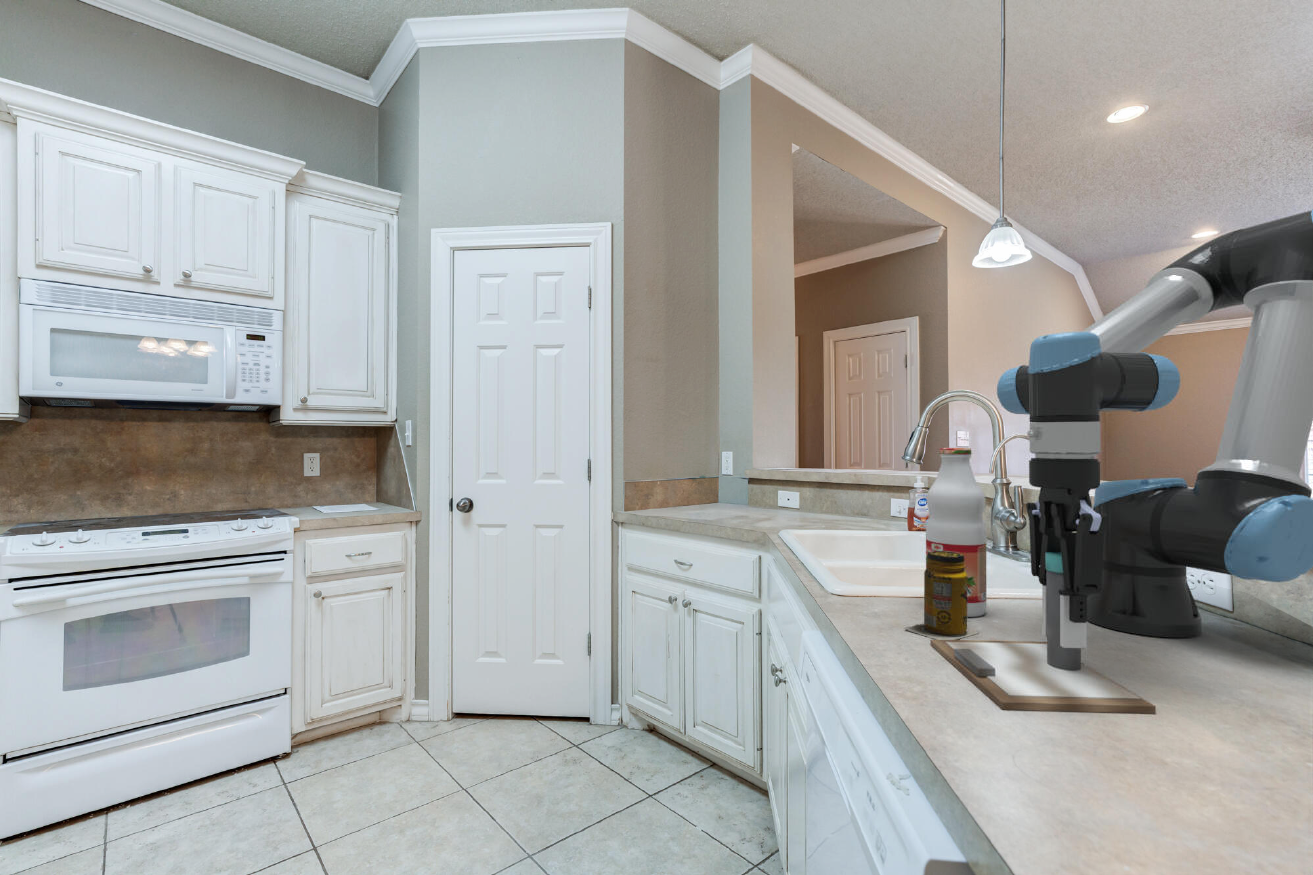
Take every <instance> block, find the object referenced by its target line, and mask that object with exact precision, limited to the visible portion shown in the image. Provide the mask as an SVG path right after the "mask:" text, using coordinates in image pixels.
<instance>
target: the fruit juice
mask: <svg viewBox="0 0 1313 875" xmlns="http://www.w3.org/2000/svg"><path fill="white" fill-rule="evenodd" d="M939 457H940V458H941V462H940V463H941V464H940V468H939V470H938V473H937V476H936V478H935V480H934V482H933V483H932V485H931V487H929V489H928V492H927V493H926V506H927V508H928V512H929V518H928V520H927V522H926V527H925V569H926V568H927V565H926V564H927V561H928V559H927V555H928V552H932V551H948V552H955V553H959V554H962V555H964V558H965V560H964V564H965V569H964V571H965V572H966V574H967V618H977V617H982V616H983V615H985V614H986V611H987V529H986V525H985V523H984V521H983V514H984V511H985V507H986V497H985V493H984V491H983V490H982V488H981V487H980V486H979V484H978V483H977V480H976V477H975V475H974V473H973V470H972V467H971V462H970V459H971V458H972V448H969V447H941V448H940V450H939Z"/></svg>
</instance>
